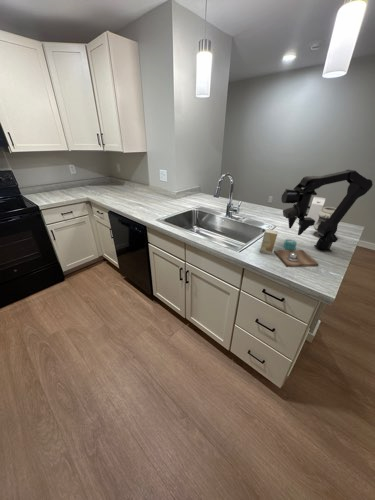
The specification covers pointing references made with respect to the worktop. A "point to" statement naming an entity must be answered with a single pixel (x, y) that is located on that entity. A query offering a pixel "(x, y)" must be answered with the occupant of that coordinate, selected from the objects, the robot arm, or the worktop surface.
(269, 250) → the skincare box
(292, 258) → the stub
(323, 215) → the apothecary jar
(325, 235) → the robot arm
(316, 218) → the milk carton
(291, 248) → the cap
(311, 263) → the walnut board
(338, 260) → the worktop surface
